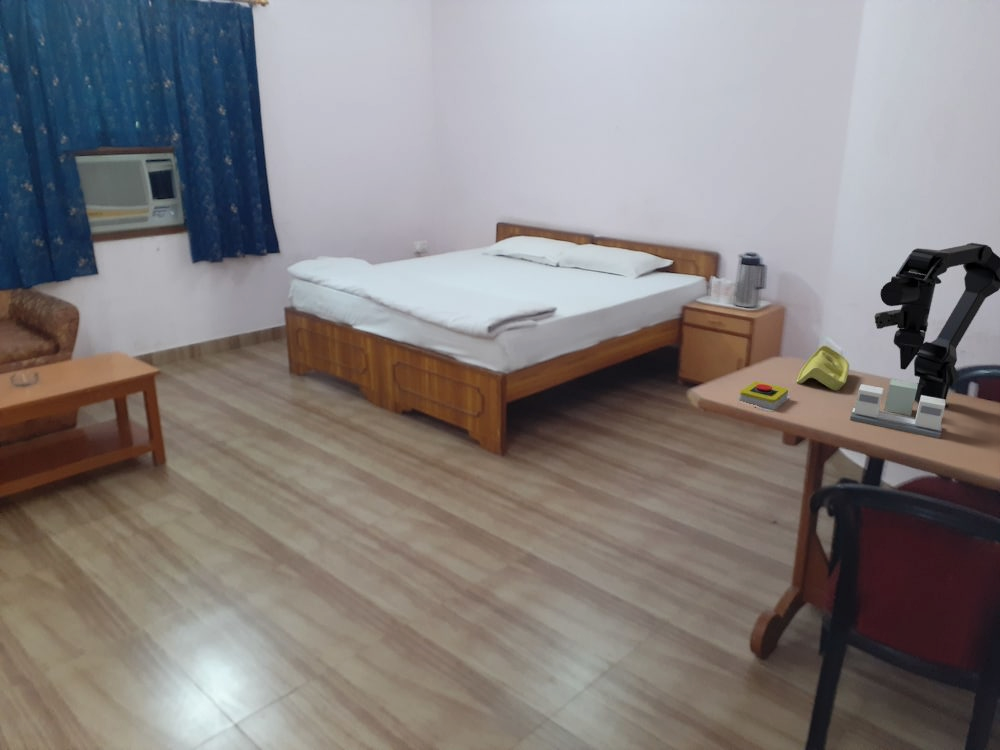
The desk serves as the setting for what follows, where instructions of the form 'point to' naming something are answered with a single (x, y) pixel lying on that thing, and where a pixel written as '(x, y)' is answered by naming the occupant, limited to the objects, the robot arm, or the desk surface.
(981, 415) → the desk surface
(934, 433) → the rail board
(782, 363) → the desk surface
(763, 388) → the emergency button
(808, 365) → the plastic component
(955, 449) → the desk surface
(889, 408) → the block
